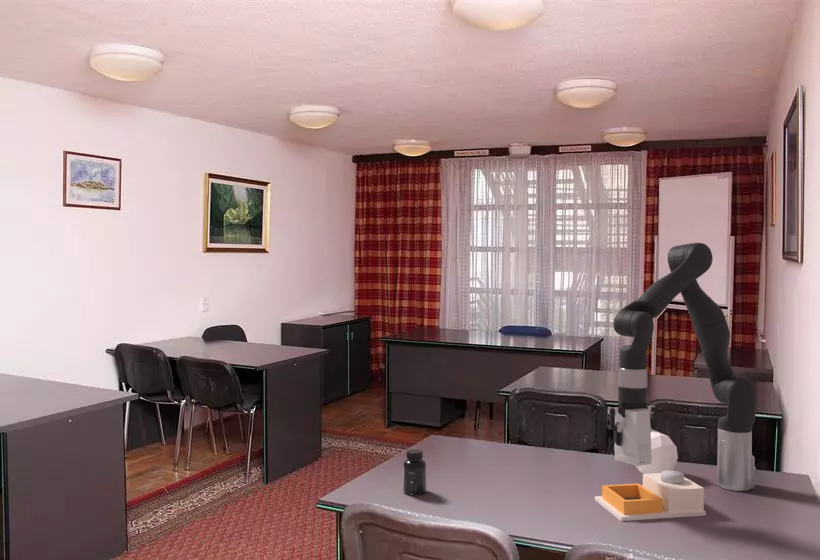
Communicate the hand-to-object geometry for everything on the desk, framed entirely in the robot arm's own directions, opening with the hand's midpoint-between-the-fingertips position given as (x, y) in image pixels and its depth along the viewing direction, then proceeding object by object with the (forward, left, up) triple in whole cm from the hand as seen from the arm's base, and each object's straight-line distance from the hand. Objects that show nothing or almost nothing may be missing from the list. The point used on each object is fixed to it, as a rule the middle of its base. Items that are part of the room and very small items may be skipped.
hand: (631, 444), depth 188 cm
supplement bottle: (+56, -23, -18) cm, 63 cm away
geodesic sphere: (-21, -26, -18) cm, 38 cm away
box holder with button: (-5, 0, -18) cm, 18 cm away
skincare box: (0, 0, -5) cm, 5 cm away
